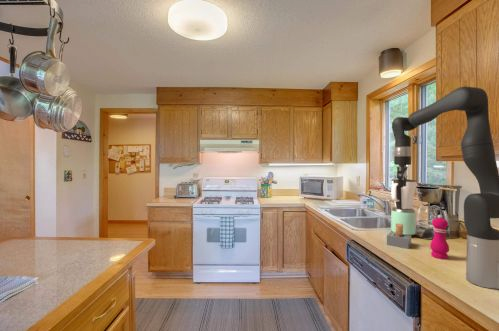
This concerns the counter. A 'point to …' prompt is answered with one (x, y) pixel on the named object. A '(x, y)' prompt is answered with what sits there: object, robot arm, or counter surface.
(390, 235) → the socket block
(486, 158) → the robot arm
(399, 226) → the peg
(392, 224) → the juicer
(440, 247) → the pepper mill
